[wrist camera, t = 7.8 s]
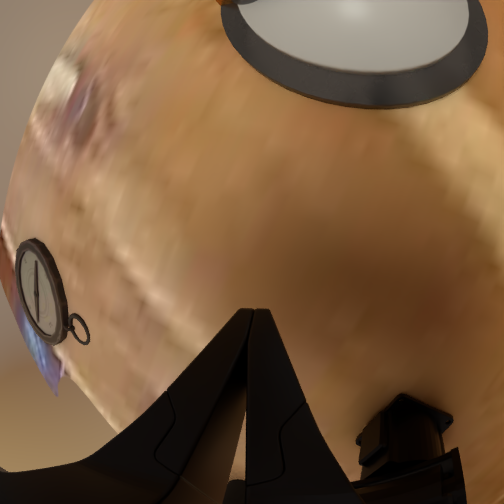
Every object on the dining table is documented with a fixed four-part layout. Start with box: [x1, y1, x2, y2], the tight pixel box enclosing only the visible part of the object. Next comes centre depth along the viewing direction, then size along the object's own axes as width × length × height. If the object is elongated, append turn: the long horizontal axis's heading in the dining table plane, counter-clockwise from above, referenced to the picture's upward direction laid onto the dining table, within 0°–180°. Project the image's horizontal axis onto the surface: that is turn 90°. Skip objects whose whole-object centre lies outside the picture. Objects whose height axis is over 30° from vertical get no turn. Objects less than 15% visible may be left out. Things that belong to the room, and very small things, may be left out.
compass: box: [15, 238, 90, 346], centre depth 34 cm, size 20×16×2 cm
